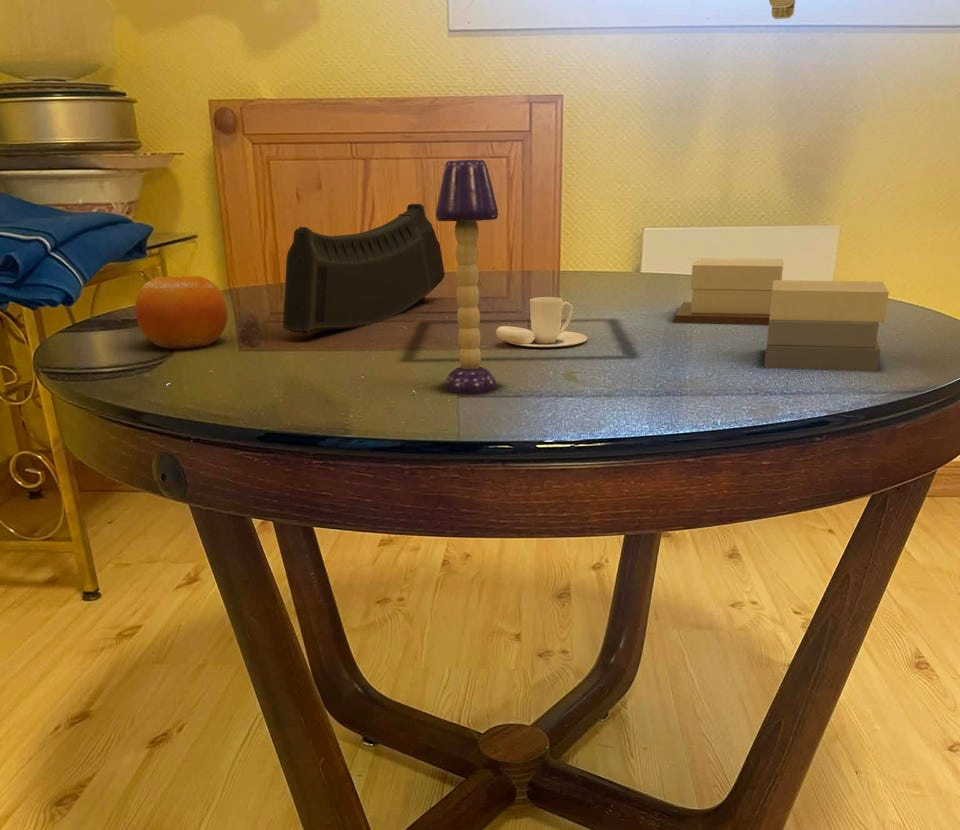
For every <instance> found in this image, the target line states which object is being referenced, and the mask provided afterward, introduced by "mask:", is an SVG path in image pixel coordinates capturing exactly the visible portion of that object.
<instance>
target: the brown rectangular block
mask: <svg viewBox="0 0 960 830" xmlns="http://www.w3.org/2000/svg"><path fill="white" fill-rule="evenodd" d="M769 318H770V317H769ZM879 326H880V322H838V321H794V320H769V325H768V327H767V338H766V347H765V355H764V357H765V358H764V368H769V369H771V368H772V369H773V368H774V369H803V370H804V369H805V370H828V371H829V370H831V371H832V370H833V371H835V370H836V371H858V372H859V371H861V372H862V371H863V372H878V369H879V362H880V355H881V347H880V345H879V342H878V340H877V339H878V332H879Z"/></svg>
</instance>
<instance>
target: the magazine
mask: <svg viewBox="0 0 960 830" xmlns="http://www.w3.org/2000/svg"><path fill="white" fill-rule="evenodd" d="M285 264H286V265H285V281H284V282H285V283H284V302H283V320H282V328H283V330H285V331H289V332H291V333H299V334H300V333H301V334H307V332H309V333H312V332H314V331H324V330H325V331H327V330H346V329H347V330H349V329H354V328H361V327H363V326H366V325H370V324H373V323H377V322H380V321H382V320H385V319H388V318H391V317H395V316H397V315H399V314H402V313H403V312H405V311H407V310H408V309H410V308H411V307H413V306H414V305H415V304H416V303H417V304H426V303H427V300H426V297H427V296H428V295H429V294H430V293H431V292H432V291H434V290H435V288H436V287H437V286H438V285H439V284H441V282H442V281H443V280H444V278H445V275H446V274H445V267H444V261H443V256H442V249H441V243H440V241H439V240H438V238H437V235H436V231H435V229H434V228H433V224H432V222H430V220H429V219H428V216H427V213H426V211H425V206H424V205H423V203H410V204H408V205H407V207H406V211H405V212H402V213H399V214H398V216H396V217H395V218H393V219H392V220H390V221H388V222H386V223H384V224H382V225H380V226H378V227H374V228H372V229H370V230H366V231H363V232H358V233H350V234H340V235H332V236H331V235H325V234H321V233H318V232H316V231H313V230H312V229H310V228H309V227H306V226H299V227H298V228H296V229H295V230H294V231H293V241H292V244H291V245H290V247H289V249H288V251H287V254H286V263H285Z"/></svg>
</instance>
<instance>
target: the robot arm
mask: <svg viewBox="0 0 960 830" xmlns="http://www.w3.org/2000/svg"><path fill="white" fill-rule="evenodd" d="M768 2H769V4H770V7H771V17H772V18H773V19H775V20H784V19H786V20H788V19H790V18H792V17H793V16H794V14H795V6H796V0H768Z"/></svg>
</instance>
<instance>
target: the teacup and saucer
mask: <svg viewBox="0 0 960 830" xmlns="http://www.w3.org/2000/svg"><path fill="white" fill-rule="evenodd" d="M566 305H567V306H568V307H569V313H568V315H567V319H566V320H565V322H564V323H563V325H562V318H563V308H564V307H565V306H566ZM529 313H530V314H529V315H530V326H531V329H527V328H524V327H518V326H509V325H502V326H499V327H497V328H496V329H495V330H496V331H495V334H496V338H497V339H498V340H500V341H502V342H506V343H508V344H511V345H515V346H519V347H529V348H530V347H531V348H558V347H569V346H575V345H580V344H582V343H584V342H585V343H586V341H588V337H587V335H585V334H583V333H578V332H574V331H566V329H567V327H568V325H570V322H571V319H572V317H573V313H574V307H573V305H572V304H571V303H570V302H569V301H563V298H562V297H556V296H554V297H553V296H542V297H541V296H540V297H534V298H530V299H529ZM561 325H562V326H561ZM534 340H535V342H536V343H537V344H534V343H532V342H534ZM557 340H558V341H559V340H560V341H562V342H561V343H557V344H555V343H556V342H557Z"/></svg>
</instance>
